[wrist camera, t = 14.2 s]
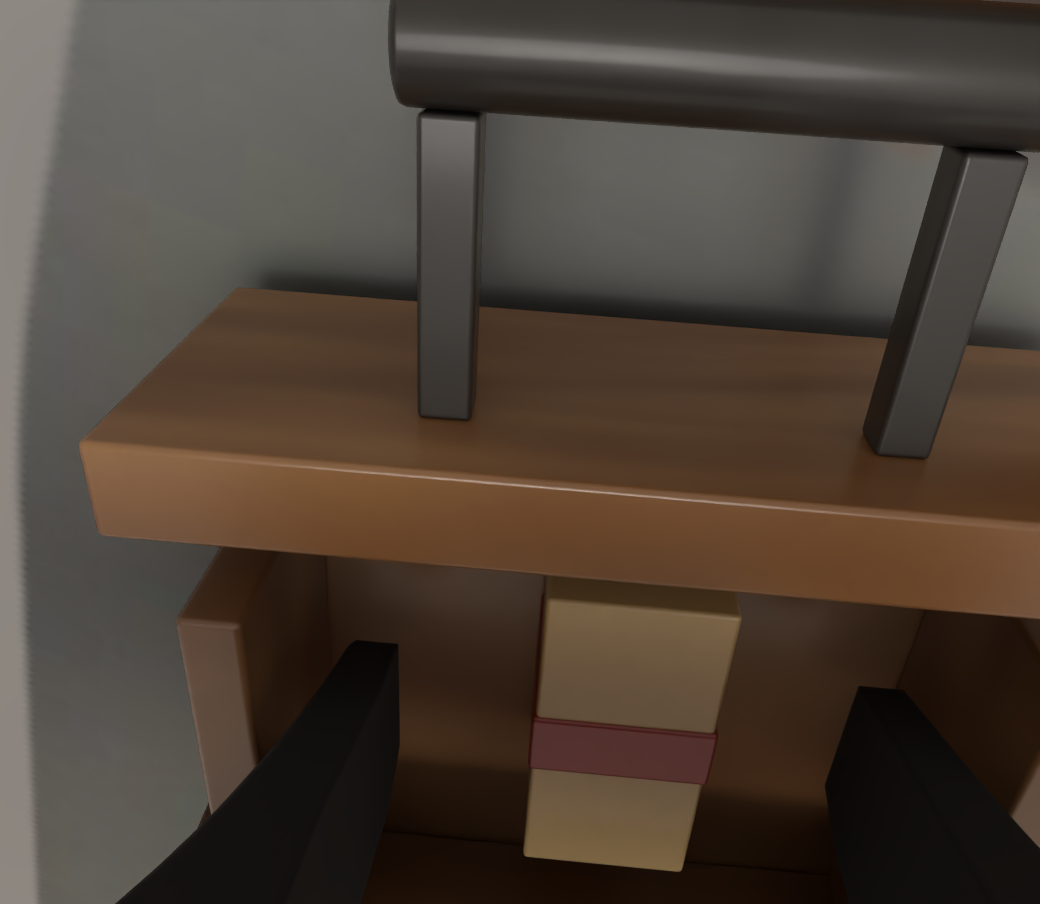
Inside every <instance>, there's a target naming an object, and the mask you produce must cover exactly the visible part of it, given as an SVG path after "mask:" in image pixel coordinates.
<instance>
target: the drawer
mask: <svg viewBox="0 0 1040 904" xmlns="http://www.w3.org/2000/svg"><path fill="white" fill-rule="evenodd" d="M388 50H389V65H390V74H391V80H392V85H393V89H394V92H395V95H396V98H397V100H398V102H399V103H400V104H402V105H404V106H406V107H413V108H424V109H423V110H422V111H421V112H420V113H419V114H418V116H417V302H416V301H403V300H391V299H378V298H365V297H353V296H340V295H328V294H315V293H303V292H290V291H277V290H265V289H252V288H237V289H235V290H234V291H233V292H232V293H231V294H230V295H229V296H228V297H227V298H226V299H225V300H224V301H223V302H222V303H221V304H219V305H218V306H217V307H216V308H215V309H214V310H213V311H212V312H211V313H210V314H209V315H208V316H207V317H206V318H205V319H204V320H203V321H202V322H201V323H200V324H199V325H198V326H197V327H196V328H195V329H194V330H193V331H192V332H191V333H190V334H189V335H188V336H187V337H186V338H185V339H184V340H183V341H182V342H181V343H180V344H179V345H178V346H177V347H176V348H175V349H174V350H173V351H172V352H170V353H169V354H168V355H167V356H166V357H165V358H164V359H163V360H162V361H161V362H160V363H159V364H158V365H157V366H156V367H155V368H154V369H153V370H152V371H151V372H150V373H149V374H148V375H147V376H146V377H145V378H144V379H143V380H142V381H141V382H140V383H139V384H138V385H137V386H136V387H135V388H134V389H133V390H132V391H131V392H130V393H129V394H128V395H127V396H126V397H125V398H124V399H122V400H121V401H120V402H119V403H118V404H117V405H116V406H115V407H114V408H113V409H112V410H111V411H110V412H109V413H108V414H107V415H106V416H105V417H104V418H103V419H102V420H101V421H100V422H99V423H98V424H97V425H96V426H95V427H94V428H93V429H92V430H91V431H90V432H89V433H88V434H87V435H86V436H85V437H84V438H83V439H82V440H81V441H80V445H79V451H80V456H81V460H82V465H83V469H84V474H85V478H86V482H87V487H88V491H89V496H90V500H91V504H92V509H93V513H94V518H95V522H96V527H97V531H98V532H99V534H101V535H103V536H109V537H120V538H131V539H142V540H154V541H165V542H176V543H187V544H198V545H210V546H221V547H220V549H219V550H218V552H217V554H216V555H215V557H214V558H213V560H212V562H211V563H210V565H209V567H208V568H207V570H206V572H205V573H204V575H203V576H202V578H201V580H200V581H199V583H198V585H197V586H196V588H195V590H194V591H193V593H192V594H191V596H190V598H189V599H188V601H187V603H186V604H185V606H184V607H183V609H182V611H181V612H180V614H179V616H178V618H177V621H176V625H177V631H178V636H179V642H180V647H181V653H182V658H183V664H184V669H185V675H186V680H187V686H188V691H189V697H190V702H191V707H192V713H193V718H194V724H195V729H196V735H197V740H198V746H199V751H200V757H201V762H202V768H203V773H204V779H205V784H206V789H207V795H208V800H209V806H210V811H211V814H212V813H213V812H214V811H215V810H216V809H217V808H218V807H219V806H220V805H221V804H222V803H223V802H224V801H225V800H226V799H227V798H228V797H229V795H230V794H231V793H232V792H233V791H234V790H235V789H236V788H237V787H238V785H239V784H240V783H241V782H242V781H243V780H244V779H245V778H246V777H247V776H248V774H249V773H250V772H251V771H252V770H253V769H254V768H255V767H256V766H257V765H258V763H259V762H260V761H261V760H262V759H263V758H264V757H265V755H266V754H267V753H268V752H269V751H270V749H271V748H272V747H273V746H274V745H275V743H276V742H277V741H278V740H279V738H280V737H281V736H282V735H283V733H284V732H285V731H286V730H287V729H288V727H289V726H290V725H291V724H292V722H293V721H294V720H295V719H296V717H297V716H298V715H299V714H300V712H301V711H302V710H303V709H304V707H305V706H306V705H307V703H308V702H309V701H310V699H311V698H312V697H313V695H314V694H315V693H316V691H317V690H318V689H319V687H320V686H321V685H322V683H323V682H324V680H325V679H326V678H327V676H328V675H329V673H330V672H331V670H332V669H333V668H334V666H335V665H336V663H337V662H338V660H339V659H340V657H341V656H342V654H343V653H344V651H345V650H346V648H347V646H348V645H349V644H351V643H352V642H354V641H355V640H362V641H373V642H384V643H395V644H398V651H399V710H400V748H399V754H398V759H397V765H396V770H395V776H394V781H393V786H392V792H391V797H390V802H389V807H388V812H387V816H386V820H385V823H384V827H383V830H382V834H381V837H380V840H379V844H378V847H377V850H376V854H375V857H374V860H373V864H372V867H371V870H370V874H369V877H368V880H367V884H366V887H365V890H364V894H363V897H362V900H361V903H360V904H849V900H848V897H847V893H846V890H845V886H844V883H843V880H842V876H841V872H840V869H839V865H838V862H837V858H836V852H835V847H834V841H833V835H832V830H831V824H830V818H829V811H828V804H827V798H826V791H825V783H826V780H827V777H828V774H829V771H830V768H831V765H832V762H833V759H834V756H835V753H836V750H837V748H838V745H839V742H840V739H841V736H842V733H843V730H844V727H845V724H846V721H847V718H848V715H849V712H850V710H851V707H852V704H853V701H854V698H855V695H856V692H857V689H858V686H867V687H878V688H889V689H900V690H904V691H905V693H906V694H907V695H908V696H909V697H910V698H911V700H912V701H913V702H914V703H915V704H916V706H917V707H918V708H919V709H920V710H921V712H922V713H923V714H924V715H925V716H926V718H927V719H928V720H929V721H930V722H931V724H932V725H933V726H934V727H935V728H936V730H937V731H938V732H939V733H940V734H941V736H942V737H943V738H944V739H945V740H946V742H947V743H948V744H949V745H950V746H951V748H952V749H953V750H954V751H955V752H956V754H957V755H958V756H959V757H960V758H961V759H962V761H963V762H964V763H965V764H966V765H967V767H968V768H969V769H970V770H971V771H972V773H973V774H974V775H975V776H976V777H977V778H978V780H979V781H980V782H981V783H982V784H983V785H984V786H985V788H986V789H987V790H988V791H989V792H990V793H991V795H992V796H993V797H994V798H995V799H996V800H997V801H998V802H999V804H1000V805H1001V806H1002V807H1003V808H1004V809H1005V810H1006V812H1007V813H1008V814H1009V815H1010V816H1011V817H1012V818H1013V819H1014V821H1015V822H1016V823H1017V824H1018V825H1019V826H1020V827H1021V828H1022V829H1023V830H1024V832H1025V833H1026V834H1027V835H1028V836H1029V837H1030V838H1031V839H1032V840H1033V841H1034V842H1035V843H1036V845H1037V846H1038V847H1039V848H1040V351H1033V350H1020V349H1007V348H995V347H982V346H970V345H967V343H968V340H969V337H970V334H971V331H972V328H973V325H974V322H975V319H976V316H977V313H978V310H979V307H980V304H981V301H982V298H983V295H984V293H985V290H986V287H987V284H988V281H989V278H990V275H991V272H992V269H993V266H994V263H995V260H996V257H997V254H998V251H999V248H1000V245H1001V242H1002V239H1003V236H1004V233H1005V230H1006V227H1007V224H1008V221H1009V218H1010V215H1011V213H1012V210H1013V207H1014V204H1015V201H1016V198H1017V195H1018V192H1019V189H1020V186H1021V183H1022V180H1023V177H1024V174H1025V171H1026V168H1027V165H1028V158H1027V157H1025V156H1023V155H1022V154H1020V153H1018V152H1016V151H1024V152H1040V4H1025V3H1012V2H997V1H982V0H390V6H389V22H388ZM486 113H496V114H510V115H524V116H538V117H552V118H566V119H579V120H593V121H607V122H621V123H635V124H649V125H662V126H676V127H690V128H704V129H718V130H732V131H746V132H759V133H773V134H787V135H801V136H815V137H829V138H842V139H856V140H870V141H884V142H898V143H912V144H925V145H939V146H944V147H943V150H942V154H941V157H940V161H939V164H938V168H937V171H936V175H935V178H934V181H933V185H932V188H931V192H930V195H929V199H928V202H927V206H926V209H925V213H924V216H923V220H922V223H921V227H920V230H919V234H918V237H917V241H916V244H915V248H914V251H913V254H912V258H911V261H910V265H909V268H908V272H907V275H906V279H905V282H904V286H903V289H902V293H901V296H900V300H899V303H898V307H897V310H896V314H895V317H894V320H893V324H892V327H891V331H890V334H889V338H888V339H881V338H869V337H856V336H844V335H831V334H819V333H806V332H793V331H781V330H768V329H756V328H743V327H730V326H718V325H705V324H693V323H680V322H668V321H655V320H642V319H630V318H617V317H605V316H592V315H579V314H567V313H554V312H542V311H529V310H516V309H504V308H491V307H479V306H480V278H481V250H482V222H483V193H484V165H485V137H486ZM546 576H557V577H568V578H579V579H591V580H602V581H613V582H624V583H635V584H647V585H658V586H669V587H680V588H692V589H703V590H714V591H725V592H736V594H737V598H738V603H739V607H740V612H741V616H742V621H741V625H740V629H739V633H738V637H737V642H736V646H735V650H734V654H733V658H732V663H731V667H730V671H729V675H728V679H727V683H726V688H725V692H724V696H723V700H722V704H721V709H720V713H719V717H718V721H717V730H718V736H719V737H718V741H717V745H716V749H715V754H714V758H713V762H712V766H711V770H710V774H709V778H708V781H707V783H706V784H704V785H702V788H701V792H700V796H699V801H698V805H697V809H696V813H695V817H694V822H693V826H692V830H691V834H690V838H689V842H688V847H687V851H686V855H685V859H684V863H683V868H682V870H681V871H679V872H675V871H665V870H655V869H645V868H635V867H625V866H615V865H605V864H595V863H585V862H575V861H565V860H555V859H545V858H535V857H527V856H525V855H524V853H523V846H524V833H525V820H526V806H527V793H528V780H529V764H528V752H529V739H530V727H531V714H532V701H533V689H534V676H535V663H536V650H537V638H538V626H539V615H540V604H541V596H542V595H543V593H545V583H546Z"/></svg>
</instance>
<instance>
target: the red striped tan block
mask: <svg viewBox="0 0 1040 904" xmlns="http://www.w3.org/2000/svg"><path fill="white" fill-rule="evenodd" d="M741 621H742V616H741V612H740V607H739V603H738V598H737V594H736V592H725V591H714V590H703V589H692V588H680V587H669V586H658V585H647V584H635V583H624V582H613V581H602V580H591V579H579V578H568V577H557V576H546V583H545V593H543V595H542V596H541V604H540V615H539V626H538V638H537V650H536V663H535V676H534V689H533V701H532V714H531V727H530V739H529V752H528V764H529V780H528V793H527V806H526V820H525V833H524V846H523V853H524V855H525V856H527V857H535V858H545V859H555V860H565V861H575V862H585V863H595V864H605V865H615V866H625V867H635V868H645V869H655V870H665V871H675V872H679V871H681V870H682V868H683V863H684V859H685V855H686V851H687V847H688V842H689V838H690V834H691V830H692V826H693V822H694V817H695V813H696V809H697V805H698V801H699V796H700V792H701V788H702V785H704V784H706V783H707V781H708V778H709V774H710V770H711V766H712V762H713V758H714V754H715V749H716V745H717V741H718V737H719V736H718V730H717V721H718V717H719V713H720V709H721V704H722V700H723V696H724V692H725V688H726V683H727V679H728V675H729V671H730V667H731V663H732V658H733V654H734V650H735V646H736V642H737V637H738V633H739V629H740V625H741Z"/></svg>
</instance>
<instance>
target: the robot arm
mask: <svg viewBox="0 0 1040 904" xmlns="http://www.w3.org/2000/svg"><path fill="white" fill-rule="evenodd" d="M399 748H400V710H399V651H398V644H395V643H384V642H373V641H362V640H355V641H354V642H352V643H351V644H349V645H348V646H347V648H346V650H345V651H344V653H343V654H342V656H341V657H340V659H339V660H338V662H337V663H336V665H335V666H334V668H333V669H332V670H331V672H330V673H329V675H328V676H327V678H326V679H325V680H324V682H323V683H322V685H321V686H320V687H319V689H318V690H317V691H316V693H315V694H314V695H313V697H312V698H311V699H310V701H309V702H308V703H307V705H306V706H305V707H304V709H303V710H302V711H301V712H300V714H299V715H298V716H297V717H296V719H295V720H294V721H293V722H292V724H291V725H290V726H289V727H288V729H287V730H286V731H285V732H284V733H283V735H282V736H281V737H280V738H279V740H278V741H277V742H276V743H275V745H274V746H273V747H272V748H271V749H270V751H269V752H268V753H267V754H266V755H265V757H264V758H263V759H262V760H261V761H260V762H259V763H258V765H257V766H256V767H255V768H254V769H253V770H252V771H251V772H250V773H249V774H248V776H247V777H246V778H245V779H244V780H243V781H242V782H241V783H240V784H239V785H238V787H237V788H236V789H235V790H234V791H233V792H232V793H231V794H230V795H229V797H228V798H227V799H226V800H225V801H224V802H223V803H222V804H221V805H220V806H219V807H218V808H217V809H216V810H215V811H214V812H213V813H212V814H211V816H210V817H209V818H208V819H207V820H206V821H205V822H204V823H203V824H202V825H201V826H200V827H199V828H198V829H197V830H196V831H195V832H194V833H193V834H192V835H191V836H190V837H189V838H188V839H186V840H185V841H184V842H183V843H182V844H181V845H180V846H179V847H178V848H177V849H176V850H175V851H174V852H173V853H172V854H171V855H170V856H169V857H168V858H166V859H165V860H164V861H163V862H162V863H161V864H160V865H159V866H158V867H157V868H156V869H154V870H153V871H152V872H151V873H150V874H149V875H148V876H146V877H145V878H144V879H143V880H142V881H141V882H140V883H138V884H137V885H136V886H135V887H134V888H133V889H132V890H130V891H129V892H128V893H127V894H126V895H125V896H124V897H122V898H121V899H120V900H119V901H118V902H117V903H116V904H360V903H361V900H362V897H363V894H364V890H365V887H366V884H367V880H368V877H369V874H370V870H371V867H372V864H373V860H374V857H375V854H376V850H377V847H378V844H379V840H380V837H381V834H382V830H383V827H384V823H385V820H386V816H387V812H388V807H389V802H390V797H391V792H392V786H393V781H394V776H395V770H396V765H397V759H398V754H399ZM825 791H826V798H827V804H828V811H829V818H830V824H831V830H832V835H833V841H834V847H835V852H836V858H837V862H838V865H839V869H840V872H841V876H842V880H843V883H844V886H845V890H846V893H847V897H848V900H849V904H1040V848H1039V847H1038V846H1037V845H1036V843H1035V842H1034V841H1033V840H1032V839H1031V838H1030V837H1029V836H1028V835H1027V834H1026V833H1025V832H1024V830H1023V829H1022V828H1021V827H1020V826H1019V825H1018V824H1017V823H1016V822H1015V821H1014V819H1013V818H1012V817H1011V816H1010V815H1009V814H1008V813H1007V812H1006V810H1005V809H1004V808H1003V807H1002V806H1001V805H1000V804H999V802H998V801H997V800H996V799H995V798H994V797H993V796H992V795H991V793H990V792H989V791H988V790H987V789H986V788H985V786H984V785H983V784H982V783H981V782H980V781H979V780H978V778H977V777H976V776H975V775H974V774H973V773H972V771H971V770H970V769H969V768H968V767H967V765H966V764H965V763H964V762H963V761H962V759H961V758H960V757H959V756H958V755H957V754H956V752H955V751H954V750H953V749H952V748H951V746H950V745H949V744H948V743H947V742H946V740H945V739H944V738H943V737H942V736H941V734H940V733H939V732H938V731H937V730H936V728H935V727H934V726H933V725H932V724H931V722H930V721H929V720H928V719H927V718H926V716H925V715H924V714H923V713H922V712H921V710H920V709H919V708H918V707H917V706H916V704H915V703H914V702H913V701H912V700H911V698H910V697H909V696H908V695H907V694H906V693H905V691H904V690H900V689H889V688H878V687H867V686H858V689H857V692H856V695H855V698H854V701H853V704H852V707H851V710H850V712H849V715H848V718H847V721H846V724H845V727H844V730H843V733H842V736H841V739H840V742H839V745H838V748H837V750H836V753H835V756H834V759H833V762H832V765H831V768H830V771H829V774H828V777H827V780H826V783H825Z"/></svg>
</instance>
